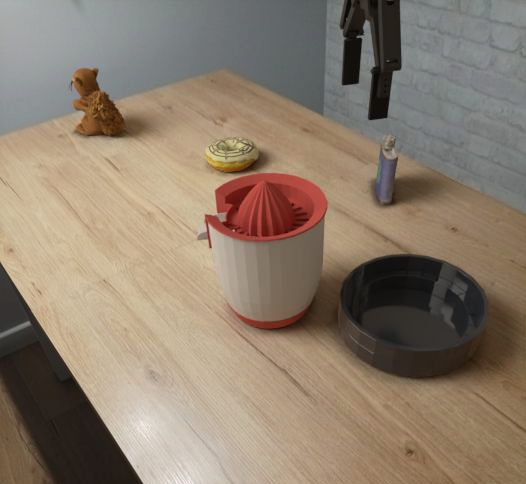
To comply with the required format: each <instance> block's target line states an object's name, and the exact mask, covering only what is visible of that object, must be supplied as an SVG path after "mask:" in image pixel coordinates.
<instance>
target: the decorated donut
mask: <svg viewBox="0 0 526 484" xmlns="http://www.w3.org/2000/svg"><path fill="white" fill-rule="evenodd" d="M204 152H205V160H206V162H208V164H209V165H210V166H211V167H212V169H215V170H217V171H220V172H224V173H231V172H232V173H233V172H240V171H242V170H246V169H247V168H248V167H250V166H251V165H252V164H253V163H254V162H255V161H256V160H258V159H259V156H260V154H259V148H258V146H257V144H256V142H254V141H252V140H251V139H249V138H247V137H244V136H235V137H231V136H229V137H224V138H221V139H217V140H215V141H212V142H211V143H210V144H209V145H207V146H206V149H205V151H204Z"/></svg>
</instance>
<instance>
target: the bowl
mask: <svg viewBox="0 0 526 484" xmlns="http://www.w3.org/2000/svg"><path fill="white" fill-rule="evenodd" d="M338 297H339V299H338V310H337V325H338V333H339V334H340V336H341V339H342V340H343V343H344V344H345V346H346V347H347V348H348V349H349V350H350V351H351V352H352V353H353V355H355V356H356V357H357V358H358V359H360V360H362V361H363V362H365V363H366V364H368V365H370V366H371V367H373V368H376V369H378V370H381V371H382V372H386V373H389V374H392V375H397V376H403V377H408V378H409V377H410V378H417V377H418V378H419V377H420V378H421V377H422V378H423V377H434V376H439V375H443V374H446V373H450V372H453V371H454V370H456V369H458V368H459V367H461V366H464V365H465V364H466V362H468V361H469V360H470V358H472V357H473V355H475V353H476V351H477V348H478V347H479V344H480V341H481V339H482V336H483V333H484V330H485V329H486V326H487V322H488V321H489V317H490V301H489V299H488V296H487V294H486V292H485V290H484V288H483V287H482V286H481V284H480V283H479V282H478V281H477V280H476V279H475V277H473V276H472V275H471V274H470V273H468V272H467V271H465V270H463V268H461V267H459V266H457V265H455V264H452V263H450V262H448V261H446V260H444V259H440V258H436V257H433V256H429V255H423V254H415V253H393V254H387V255H382V256H377V257H374V258H372V259H371V258H370V259H369V260H367V261H365V262H362V263H360V264H359V265H358V266H356V267H355V268H354V269H351V270H350V272H349V273H348V274H347V276H346V277H345V278H344V280H343V281H342V283H341V286H340V291H339V296H338Z"/></svg>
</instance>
